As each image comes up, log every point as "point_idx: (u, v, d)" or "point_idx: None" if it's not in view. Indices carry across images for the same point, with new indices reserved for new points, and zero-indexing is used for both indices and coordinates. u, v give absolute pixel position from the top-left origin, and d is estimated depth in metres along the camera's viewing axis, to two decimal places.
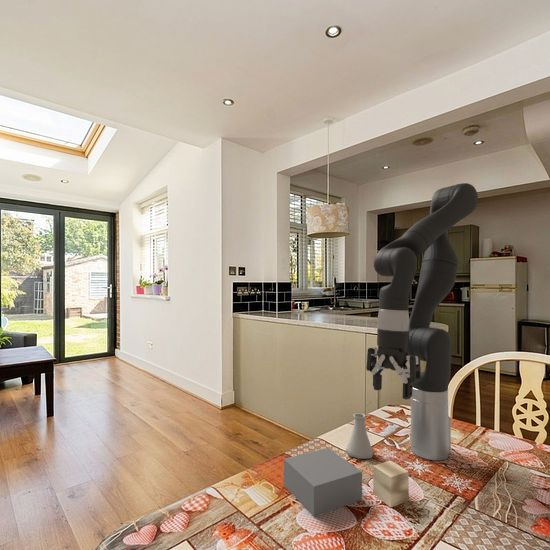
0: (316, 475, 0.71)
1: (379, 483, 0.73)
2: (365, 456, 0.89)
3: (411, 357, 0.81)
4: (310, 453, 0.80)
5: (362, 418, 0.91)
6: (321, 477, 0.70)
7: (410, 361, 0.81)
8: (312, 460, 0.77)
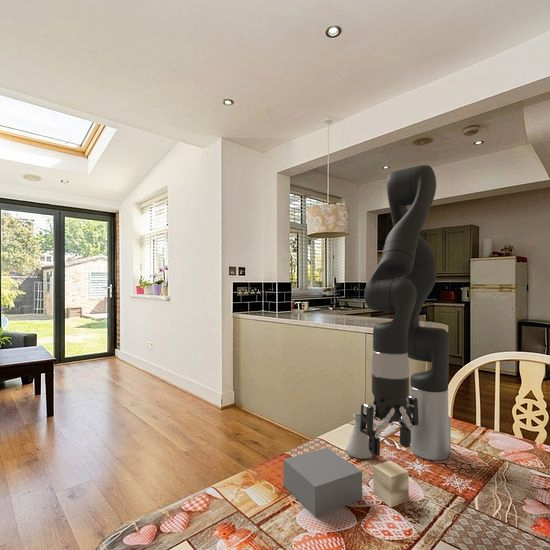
0: (316, 475, 0.71)
1: (379, 483, 0.73)
2: (365, 456, 0.89)
3: (415, 399, 0.75)
4: (309, 453, 0.80)
5: None
6: (322, 477, 0.70)
7: (414, 404, 0.75)
8: (312, 460, 0.77)
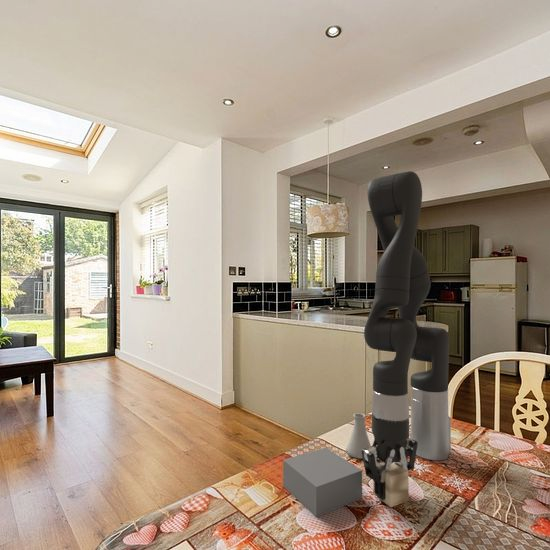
0: (317, 475, 0.71)
1: None
2: None
3: (416, 442, 0.75)
4: (309, 453, 0.80)
5: (362, 418, 0.91)
6: (322, 477, 0.70)
7: (414, 447, 0.75)
8: (312, 460, 0.77)
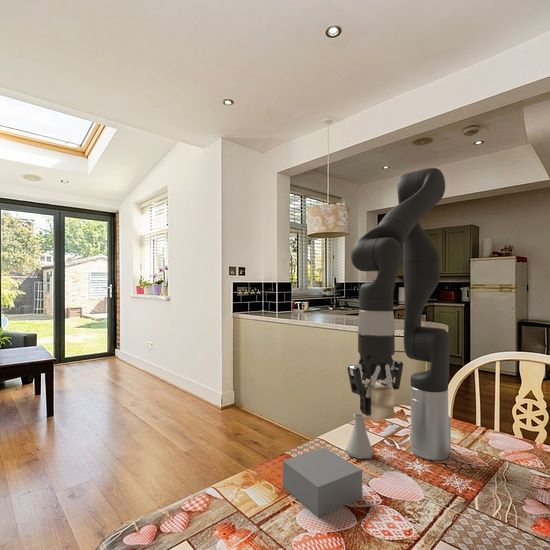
0: (318, 475, 0.71)
1: None
2: (365, 456, 0.89)
3: (401, 363, 0.76)
4: (308, 453, 0.80)
5: (362, 418, 0.91)
6: (323, 478, 0.70)
7: (399, 367, 0.76)
8: (311, 460, 0.77)
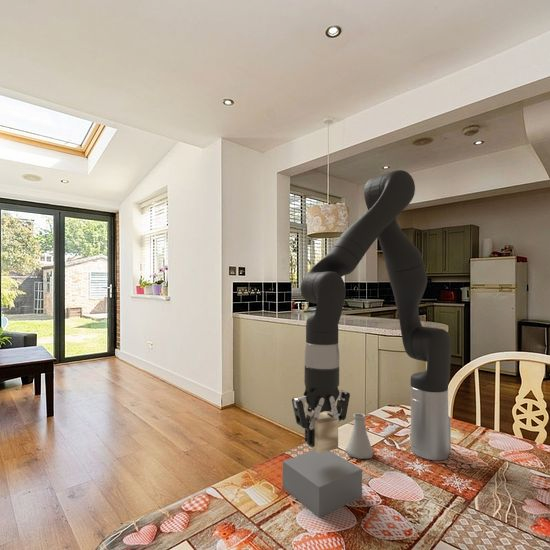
0: (318, 475, 0.71)
1: None
2: (365, 456, 0.89)
3: (348, 394, 0.77)
4: (307, 454, 0.80)
5: (362, 418, 0.91)
6: (324, 478, 0.70)
7: (346, 398, 0.77)
8: (311, 460, 0.77)
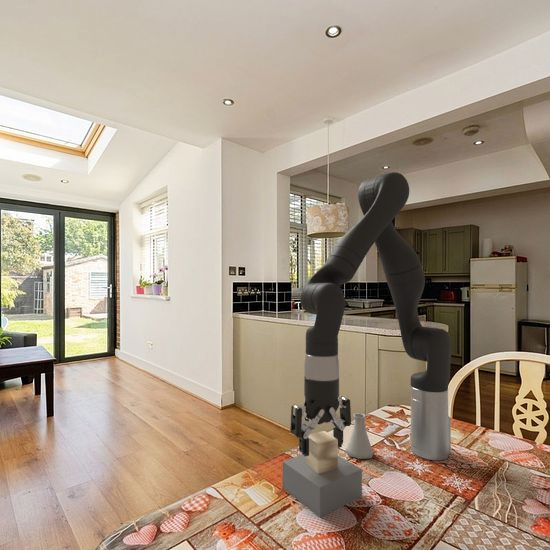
0: (319, 476, 0.71)
1: (309, 451, 0.75)
2: (365, 456, 0.89)
3: (348, 400, 0.77)
4: None
5: (362, 418, 0.91)
6: (324, 478, 0.70)
7: (346, 405, 0.77)
8: None
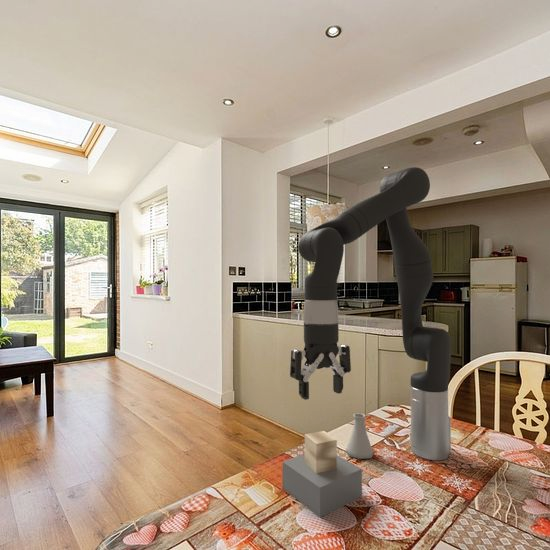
0: (319, 476, 0.71)
1: (308, 451, 0.75)
2: (365, 456, 0.89)
3: (347, 347, 0.77)
4: None
5: (362, 418, 0.91)
6: (325, 478, 0.70)
7: (346, 351, 0.77)
8: None
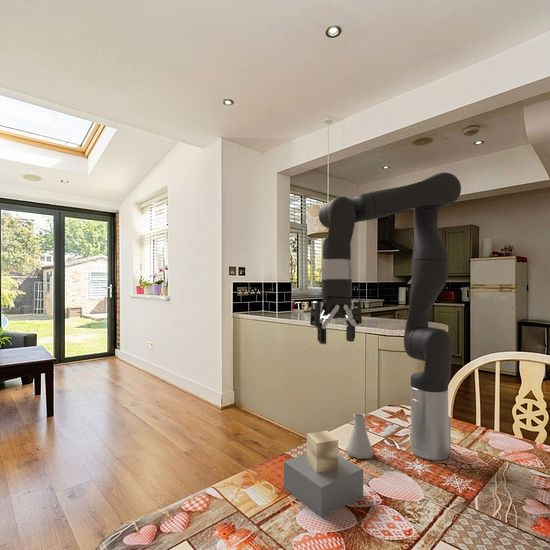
0: (320, 476, 0.71)
1: (310, 450, 0.75)
2: (365, 456, 0.89)
3: (359, 302, 0.89)
4: None
5: (362, 418, 0.91)
6: (326, 478, 0.70)
7: (358, 305, 0.89)
8: None
